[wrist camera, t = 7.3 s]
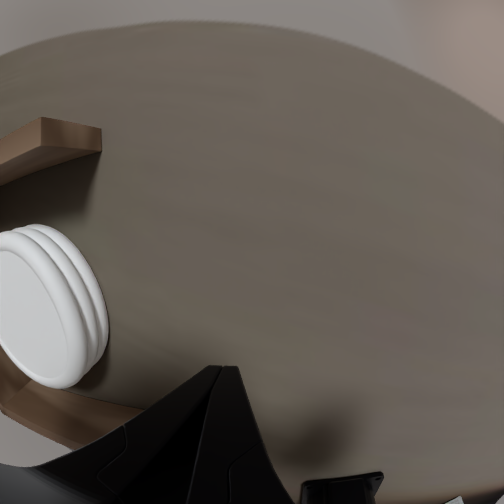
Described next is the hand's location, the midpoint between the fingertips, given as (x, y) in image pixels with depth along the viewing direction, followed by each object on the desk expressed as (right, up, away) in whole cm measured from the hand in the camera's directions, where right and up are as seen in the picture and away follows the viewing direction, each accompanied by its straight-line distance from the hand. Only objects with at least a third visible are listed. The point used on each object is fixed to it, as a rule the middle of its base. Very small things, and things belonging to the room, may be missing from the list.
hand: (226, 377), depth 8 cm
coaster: (-12, +1, +8) cm, 15 cm away
